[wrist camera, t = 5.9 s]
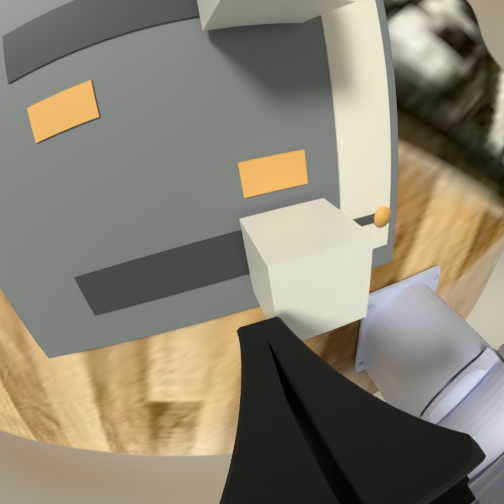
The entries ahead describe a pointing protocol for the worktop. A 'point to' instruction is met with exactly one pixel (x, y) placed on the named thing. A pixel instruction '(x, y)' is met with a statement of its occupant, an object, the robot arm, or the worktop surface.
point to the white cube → (309, 266)
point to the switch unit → (176, 155)
